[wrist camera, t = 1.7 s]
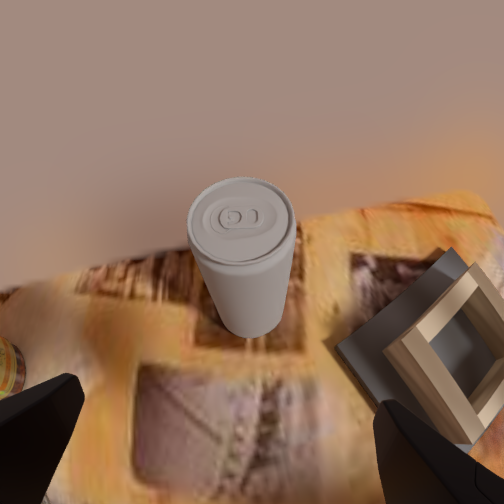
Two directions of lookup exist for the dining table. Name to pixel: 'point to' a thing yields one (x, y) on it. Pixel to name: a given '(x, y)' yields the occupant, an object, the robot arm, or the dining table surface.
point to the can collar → (437, 350)
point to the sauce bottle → (10, 369)
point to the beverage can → (244, 251)
